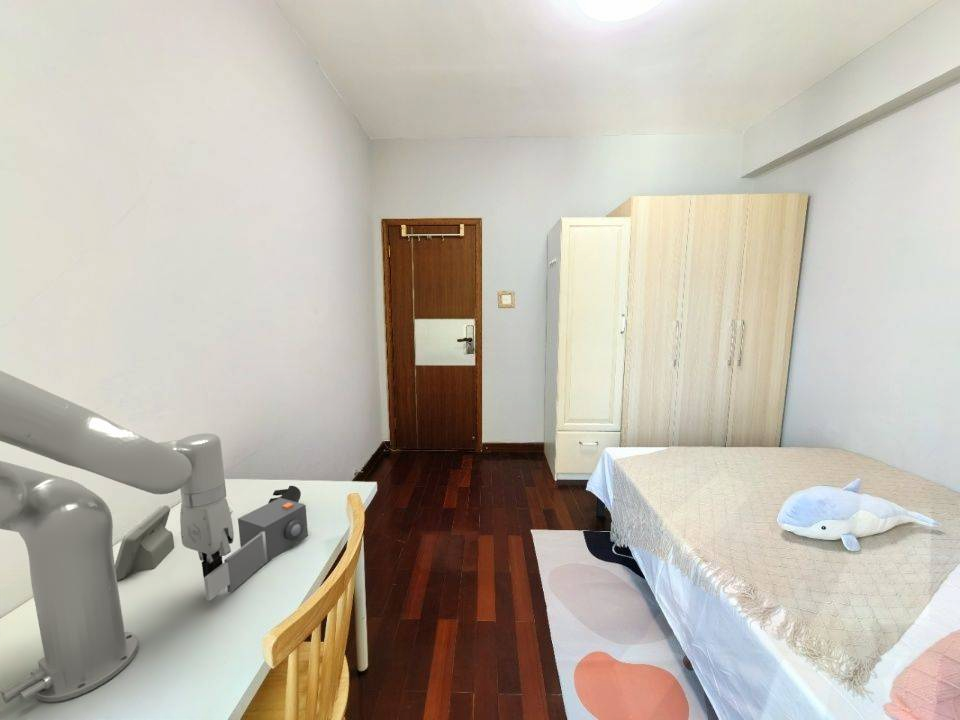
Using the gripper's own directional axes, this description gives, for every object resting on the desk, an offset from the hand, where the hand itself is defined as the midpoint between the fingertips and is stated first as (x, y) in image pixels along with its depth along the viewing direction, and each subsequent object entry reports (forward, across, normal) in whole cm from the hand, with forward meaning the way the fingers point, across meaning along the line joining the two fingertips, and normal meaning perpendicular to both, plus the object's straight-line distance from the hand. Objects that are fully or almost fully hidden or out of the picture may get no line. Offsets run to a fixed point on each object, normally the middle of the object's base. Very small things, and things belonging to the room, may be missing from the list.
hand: (213, 575), depth 84 cm
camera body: (+5, -4, +19) cm, 20 cm away
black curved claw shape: (+5, -14, +32) cm, 35 cm away
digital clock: (+5, -29, +3) cm, 29 cm away
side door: (+4, +2, +4) cm, 6 cm away
